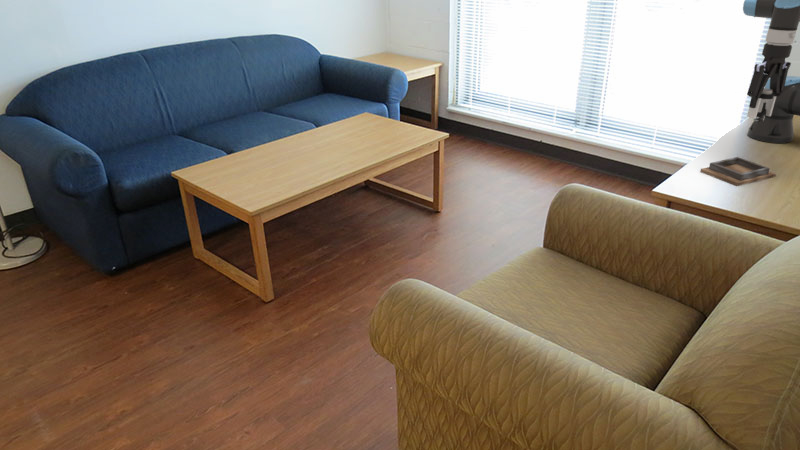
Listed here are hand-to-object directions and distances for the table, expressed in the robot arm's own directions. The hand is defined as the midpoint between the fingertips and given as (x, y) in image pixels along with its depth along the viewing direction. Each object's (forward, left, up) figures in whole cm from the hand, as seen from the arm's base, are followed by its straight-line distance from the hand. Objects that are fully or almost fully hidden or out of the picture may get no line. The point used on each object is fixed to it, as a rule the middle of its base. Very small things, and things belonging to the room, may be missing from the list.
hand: (758, 116), depth 194 cm
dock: (+8, +3, -18) cm, 20 cm away
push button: (0, 0, -2) cm, 2 cm away
